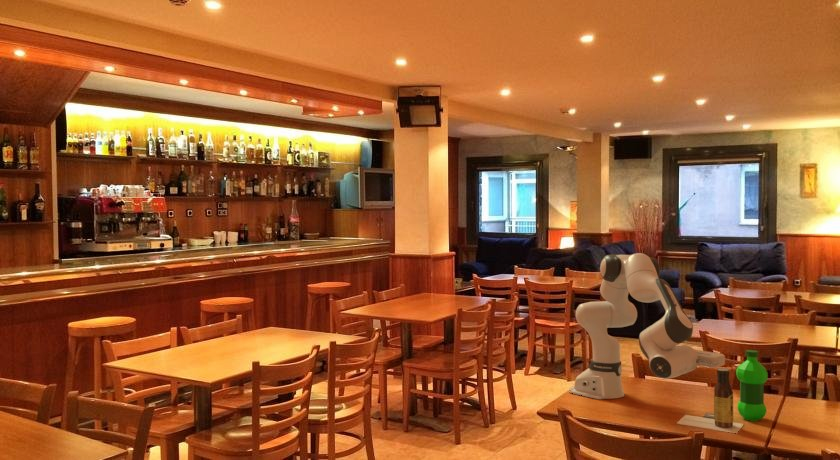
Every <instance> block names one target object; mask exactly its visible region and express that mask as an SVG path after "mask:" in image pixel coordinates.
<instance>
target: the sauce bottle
mask: <svg viewBox="0 0 840 460" xmlns="http://www.w3.org/2000/svg"><path fill="white" fill-rule="evenodd" d="M716 374H717V380H716V381H717V383H716V384H715V386H714V389H713V391H714V392H713V394H714V395H713V412H714V413H713V414H714V420H715V425H716V426H719V427H727V428H728V427H732V426H733V422H734V392H733V388H732V386H731V384H730V370H729V369H727V368H717V369H716Z"/></svg>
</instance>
